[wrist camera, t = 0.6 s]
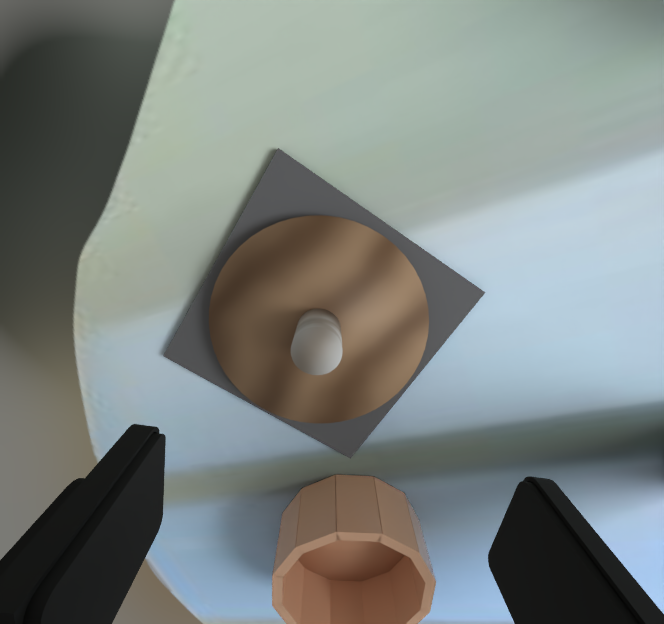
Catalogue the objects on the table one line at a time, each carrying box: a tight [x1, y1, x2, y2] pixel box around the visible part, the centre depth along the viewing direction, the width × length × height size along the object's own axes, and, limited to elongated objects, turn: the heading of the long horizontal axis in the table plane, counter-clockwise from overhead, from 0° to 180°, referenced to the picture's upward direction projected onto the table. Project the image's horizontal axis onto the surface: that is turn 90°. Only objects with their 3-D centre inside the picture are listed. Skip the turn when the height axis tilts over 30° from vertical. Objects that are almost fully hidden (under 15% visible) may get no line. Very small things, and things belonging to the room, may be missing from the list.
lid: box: [209, 215, 429, 423], centre depth 29 cm, size 20×20×6 cm
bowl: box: [272, 475, 436, 624], centre depth 37 cm, size 16×16×7 cm
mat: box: [163, 148, 485, 458], centre depth 32 cm, size 22×22×1 cm
